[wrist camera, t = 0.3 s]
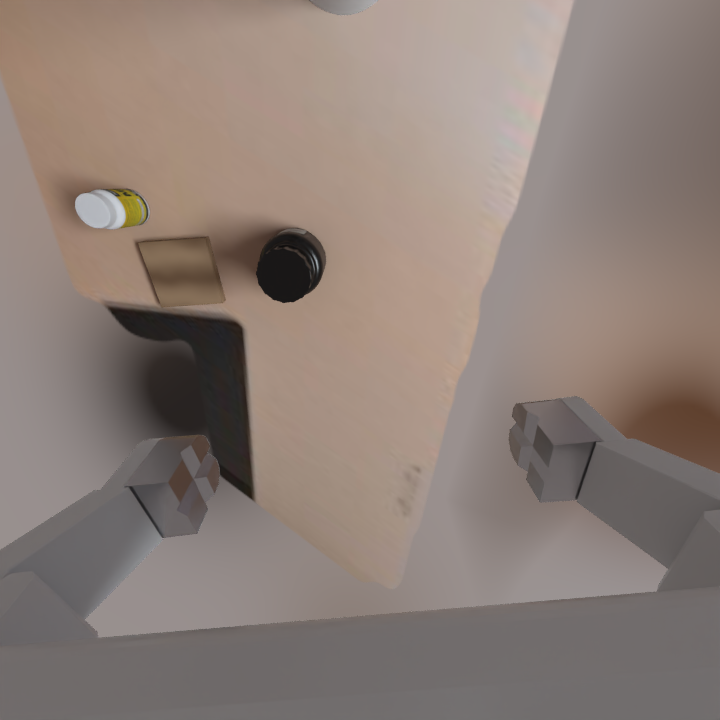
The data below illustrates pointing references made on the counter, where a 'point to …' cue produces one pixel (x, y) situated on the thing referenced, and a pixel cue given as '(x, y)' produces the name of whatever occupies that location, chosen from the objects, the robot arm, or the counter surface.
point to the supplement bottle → (112, 208)
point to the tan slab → (183, 271)
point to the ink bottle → (291, 265)
